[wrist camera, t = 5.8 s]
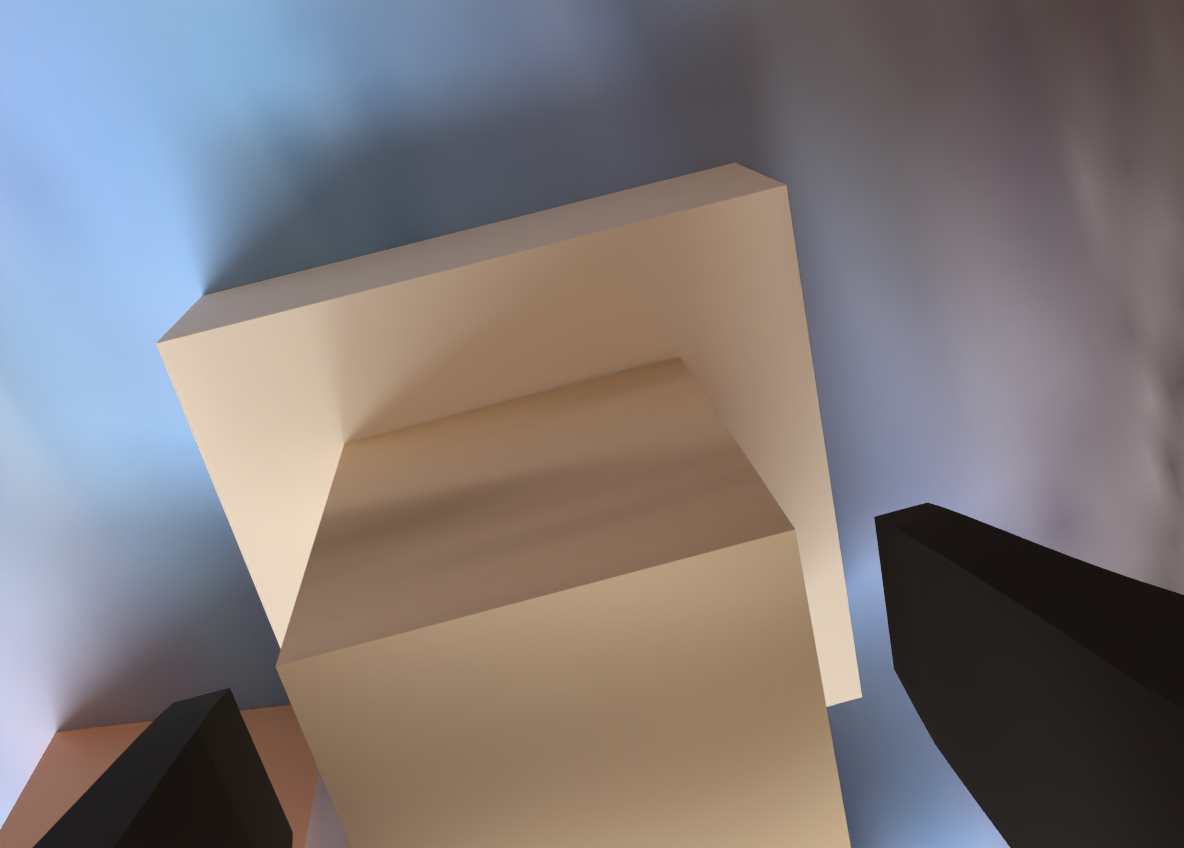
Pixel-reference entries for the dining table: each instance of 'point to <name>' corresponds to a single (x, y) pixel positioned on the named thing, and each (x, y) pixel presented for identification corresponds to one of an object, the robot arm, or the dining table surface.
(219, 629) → the dining table surface
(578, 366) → the cream slab
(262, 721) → the terracotta block
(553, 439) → the maple block
